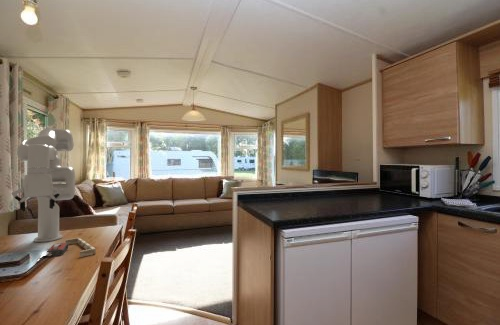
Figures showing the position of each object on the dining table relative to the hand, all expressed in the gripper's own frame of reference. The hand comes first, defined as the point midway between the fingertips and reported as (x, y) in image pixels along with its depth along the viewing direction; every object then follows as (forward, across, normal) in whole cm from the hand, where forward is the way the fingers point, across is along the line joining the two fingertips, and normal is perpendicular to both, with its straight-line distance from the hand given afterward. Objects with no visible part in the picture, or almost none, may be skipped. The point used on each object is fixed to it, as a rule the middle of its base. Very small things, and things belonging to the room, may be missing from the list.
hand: (37, 209), depth 110 cm
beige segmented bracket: (+22, -17, -3) cm, 28 cm away
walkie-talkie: (+23, -7, -3) cm, 24 cm away
